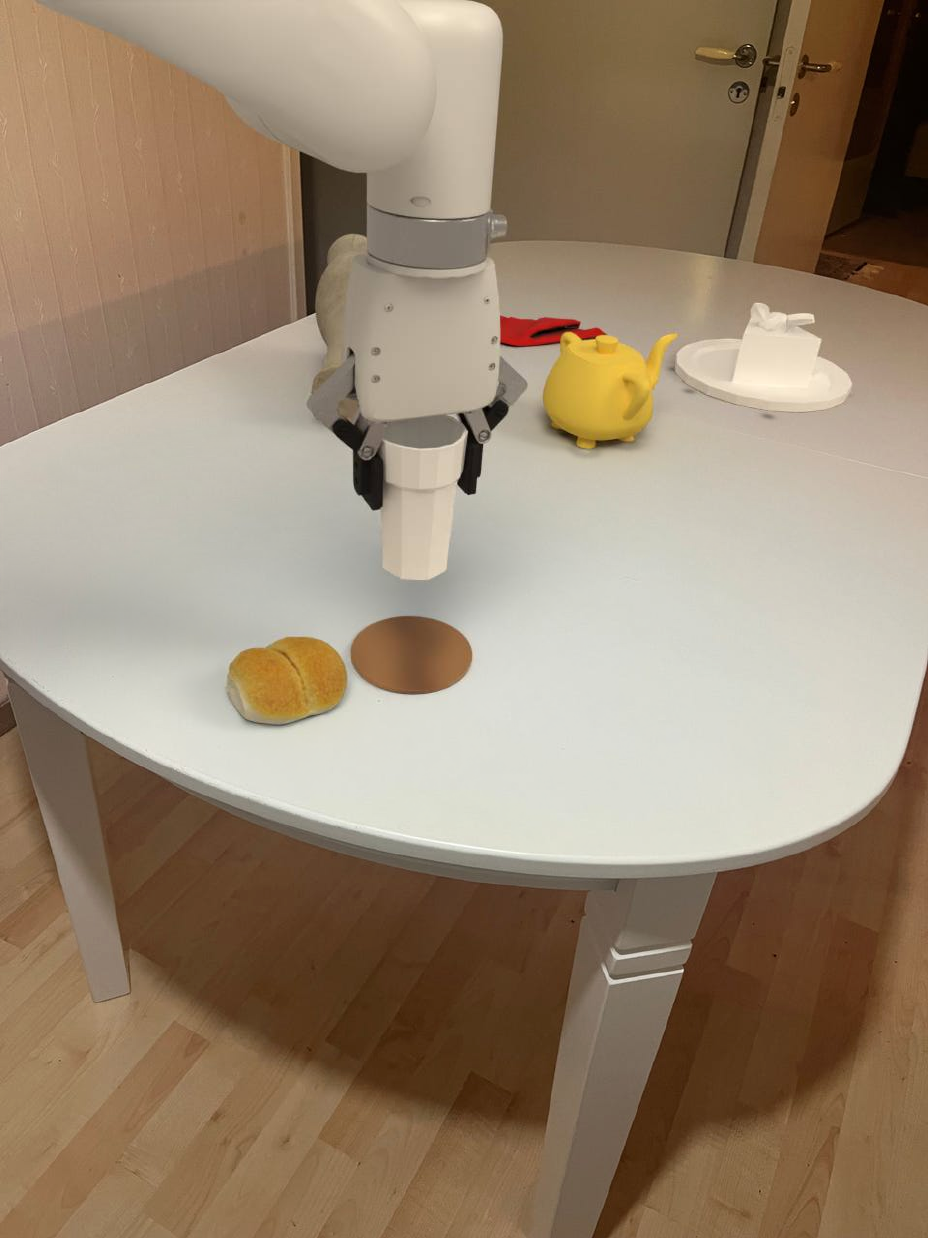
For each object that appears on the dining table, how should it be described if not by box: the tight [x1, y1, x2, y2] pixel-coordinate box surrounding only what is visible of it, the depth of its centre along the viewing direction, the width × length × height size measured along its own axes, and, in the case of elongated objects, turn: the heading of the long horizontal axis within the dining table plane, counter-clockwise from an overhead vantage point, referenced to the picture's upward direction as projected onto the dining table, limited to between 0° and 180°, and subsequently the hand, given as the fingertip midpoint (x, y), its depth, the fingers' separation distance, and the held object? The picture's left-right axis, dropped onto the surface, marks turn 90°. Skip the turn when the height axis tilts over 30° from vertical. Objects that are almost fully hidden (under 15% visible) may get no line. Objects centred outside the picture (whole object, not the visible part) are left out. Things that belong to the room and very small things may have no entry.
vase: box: [311, 233, 367, 423], centre depth 113 cm, size 22×22×28 cm
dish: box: [674, 302, 853, 413], centre depth 131 cm, size 25×25×11 cm
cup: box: [377, 415, 468, 581], centre depth 68 cm, size 7×7×11 cm
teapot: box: [541, 332, 679, 450], centre depth 112 cm, size 14×14×12 cm
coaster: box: [350, 615, 473, 695], centre depth 76 cm, size 10×10×1 cm
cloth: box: [500, 314, 608, 347], centre depth 143 cm, size 26×14×2 cm, turn 73°
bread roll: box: [225, 636, 348, 725], centre depth 71 cm, size 8×9×4 cm
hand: (417, 491), depth 68 cm, fingers closed on cup, 6 cm apart
